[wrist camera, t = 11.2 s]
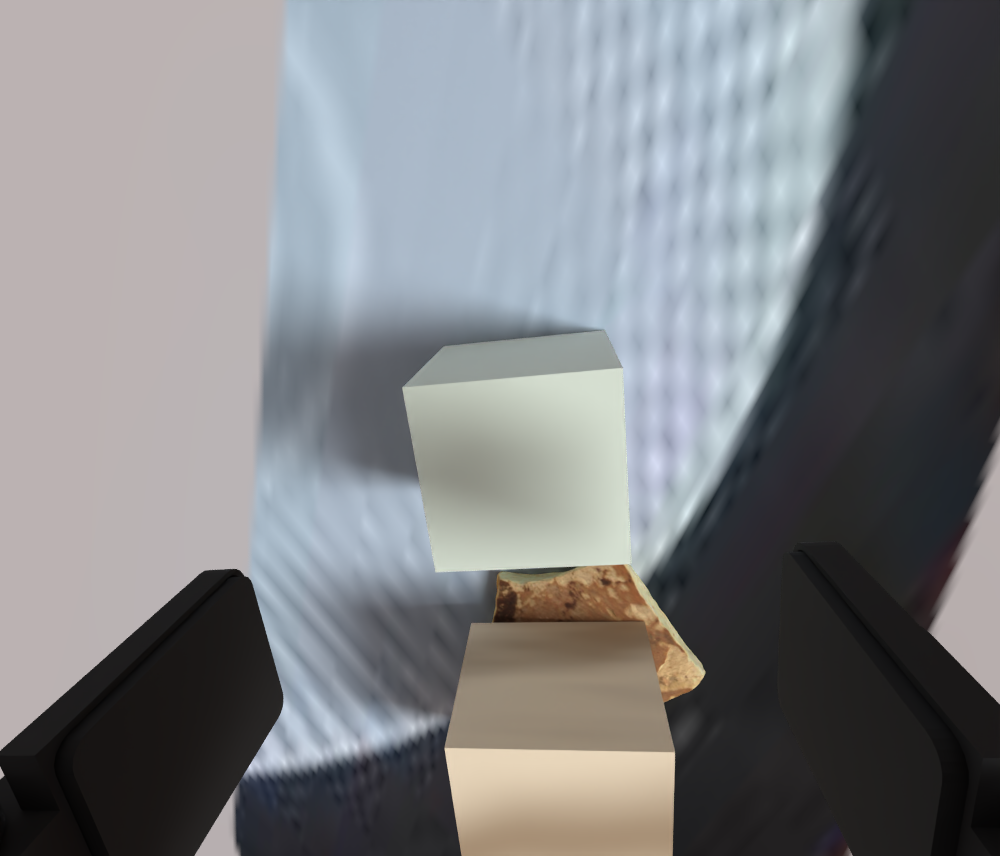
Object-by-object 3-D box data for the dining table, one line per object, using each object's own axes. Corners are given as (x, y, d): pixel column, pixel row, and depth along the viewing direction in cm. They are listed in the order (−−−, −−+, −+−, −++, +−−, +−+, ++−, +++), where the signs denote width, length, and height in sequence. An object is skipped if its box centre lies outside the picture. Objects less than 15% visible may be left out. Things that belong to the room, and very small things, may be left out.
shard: (477, 754, 24) (470, 794, 22) (369, 630, 22) (353, 663, 21) (704, 657, 21) (716, 695, 19) (600, 506, 19) (603, 532, 18)
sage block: (444, 345, 17) (402, 387, 13) (604, 329, 17) (623, 368, 12) (466, 488, 19) (435, 572, 14) (612, 478, 18) (631, 564, 14)
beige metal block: (471, 622, 19) (444, 748, 15) (644, 621, 19) (674, 752, 14) (487, 749, 21) (468, 895, 17) (644, 752, 21) (671, 906, 16)
